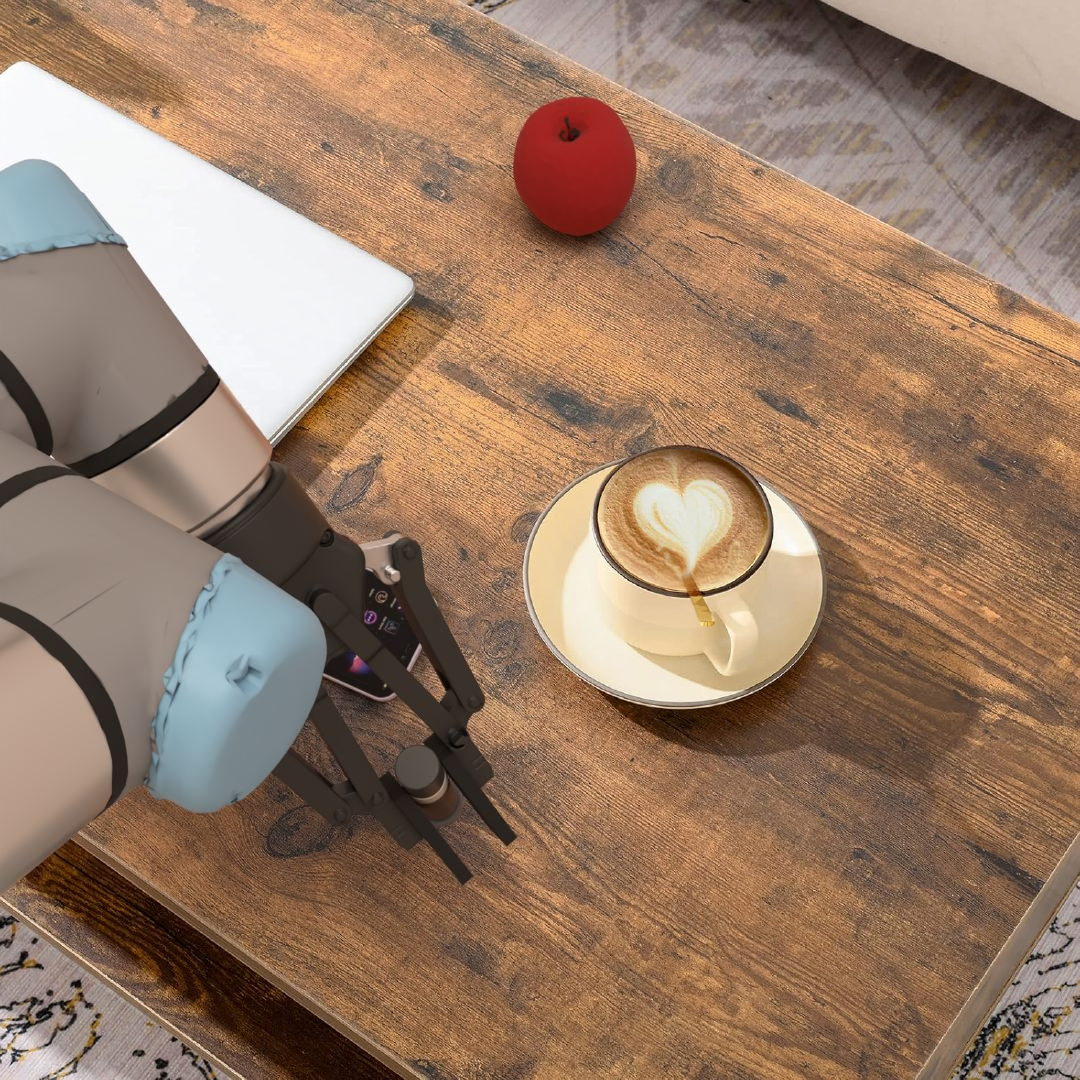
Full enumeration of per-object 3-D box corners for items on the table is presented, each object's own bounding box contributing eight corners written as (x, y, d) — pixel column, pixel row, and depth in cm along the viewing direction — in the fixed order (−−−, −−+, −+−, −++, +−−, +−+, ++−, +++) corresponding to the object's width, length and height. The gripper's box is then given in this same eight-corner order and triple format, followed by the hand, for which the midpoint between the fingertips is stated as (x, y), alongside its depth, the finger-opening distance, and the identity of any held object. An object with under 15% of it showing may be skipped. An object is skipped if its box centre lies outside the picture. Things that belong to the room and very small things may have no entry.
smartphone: (243, 514, 77) (444, 600, 74) (245, 518, 78) (445, 603, 75) (184, 612, 75) (390, 705, 72) (187, 616, 75) (392, 707, 72)
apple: (655, 232, 86) (664, 136, 77) (542, 272, 85) (537, 179, 76) (607, 142, 89) (610, 40, 80) (497, 179, 88) (488, 80, 79)
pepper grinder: (436, 836, 65) (412, 804, 55) (407, 801, 65) (379, 764, 56) (472, 805, 65) (454, 769, 56) (443, 771, 66) (420, 729, 57)
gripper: (324, 394, 56) (557, 730, 66) (54, 592, 53) (344, 914, 63) (372, 412, 50) (623, 781, 60) (67, 639, 46) (389, 991, 56)
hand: (479, 849), depth 61 cm, fingers closed on pepper grinder, 2 cm apart
